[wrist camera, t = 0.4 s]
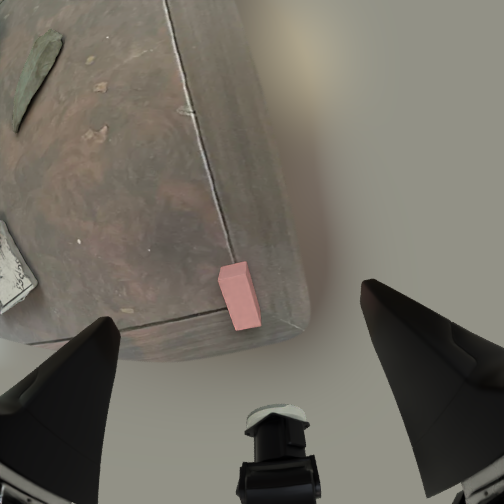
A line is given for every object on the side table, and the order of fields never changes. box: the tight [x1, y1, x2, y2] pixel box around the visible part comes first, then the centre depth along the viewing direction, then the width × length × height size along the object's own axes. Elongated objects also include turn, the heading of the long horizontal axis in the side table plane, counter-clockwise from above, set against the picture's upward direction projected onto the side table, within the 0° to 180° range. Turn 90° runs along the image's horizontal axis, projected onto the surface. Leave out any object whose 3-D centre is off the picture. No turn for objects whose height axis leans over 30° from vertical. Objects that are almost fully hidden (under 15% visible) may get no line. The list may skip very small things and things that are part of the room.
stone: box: [12, 29, 63, 133], centre depth 15 cm, size 11×2×5 cm
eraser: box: [218, 261, 261, 331], centre depth 22 cm, size 5×2×2 cm, turn 14°
